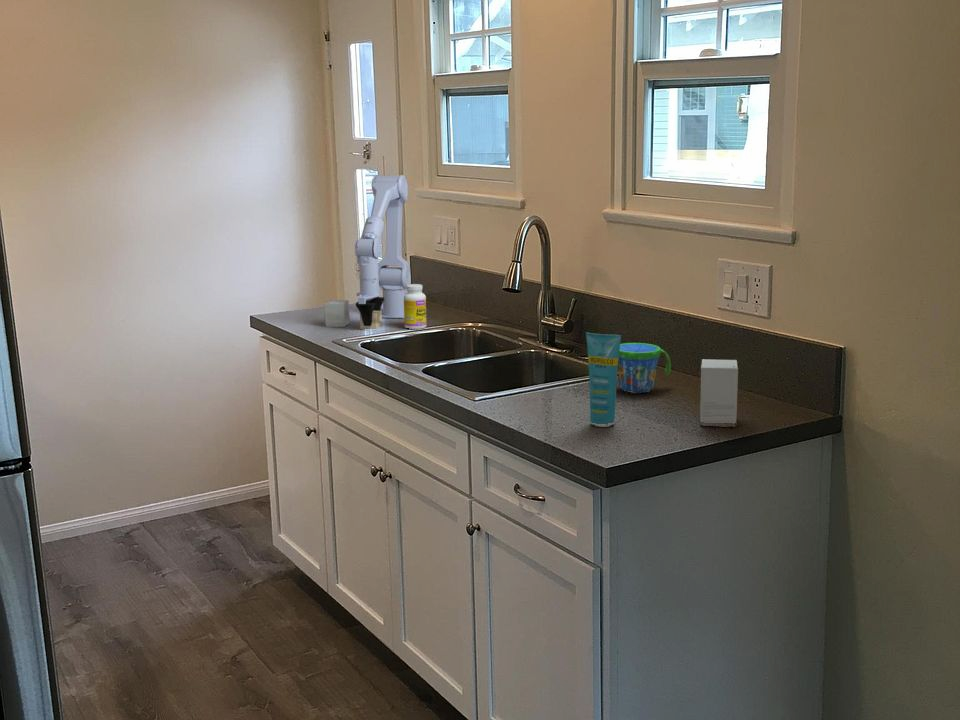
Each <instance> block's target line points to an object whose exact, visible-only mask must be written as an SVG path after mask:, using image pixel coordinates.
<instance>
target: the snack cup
mask: <svg viewBox="0 0 960 720" xmlns="http://www.w3.org/2000/svg"><path fill="white" fill-rule="evenodd" d="M661 353H663V355H664V356H665V358H666V364H665V371H664V373H665V375H666V376H669V375H670V373H671V369H672V368H671V367H672V364H671V358H670V356H669V354H668V353H667V352H666V351H665V350H664V349H662V348H661V347H660V346H658V345H656V344H651V343H645V342H625V343H620V349H619V358H618V370H617V379H618V385H619V389H620V388H621V389H623V390H626V391H633V392H643V391H648V390H651V389H652V390H653V388H654V384H655V378H656V374H657V373H656V372H657V367H658V362H659V359H660V356H661ZM652 390H651V391H652ZM643 393H644V392H643Z"/></svg>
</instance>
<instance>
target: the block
mask: <svg viewBox="0 0 960 720" xmlns="http://www.w3.org/2000/svg"><path fill="white" fill-rule="evenodd" d="M382 314H383V313H382V310H380V311H373V314H372V324H371V326H364V324H363V321H362V317H361V314H360V313H359V321H360V322H359V323H360V324H359V326H360V330H361V329H378V328H379V327H381V326H382V327H383V322H382V321H383V318H382ZM382 327H381V328H382ZM378 330H379V329H378Z"/></svg>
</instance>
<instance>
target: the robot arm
mask: <svg viewBox="0 0 960 720" xmlns="http://www.w3.org/2000/svg"><path fill="white" fill-rule="evenodd" d="M408 187H409V184H408V182H407V178H406V177H405V175H403V174H400V175H397V174H396V175H391V174H390V175H388V174H387V175H385V174H384V175H382V174H381V175H380V174H375V175H374V176H373V178H372V180H371V191H372V194H373V203H372V208H371V212H370V213H371V214H370V216H369V217H367V218H366V220H365V222H364V226H363V228H362V229H363V230H362V232H361V236H360V238H358V240H356V242H355V244H354V254H355V256H356V257H355V258H356V263H357V264H358V270H359V271H358V274H359V276H358V277H359V292H357V293H356V296H357V302H355V307H356V308H357V310H358V312H359V315H360V314H361V317H362V321H363V324H364V326H371V324H372V314H373V311H382V310H383V312H382V313H381V314H382V319H383V318H385V319H388V318H389V319H404V295H405V294H407V292H408V291H407V285H410V283H411V280H412V279H411V278H412V277H411V269H410V263H409V262H408V261H407V260H405V259H404V258H403V256H402V238H403V237H402V236H403V235H402V233H403V208H404V207H403V206H404V205H403V204H406V203H407V201H408V192H409V191H408V189H409V188H408ZM385 214H386V222H384V221H383V219H384V217H385ZM385 224H386V225H385ZM385 227H386V228H385ZM384 228H385V229H386V230H385V256H384V257H383V258H382V259H381V260H380V261H379V257H380V256H381V254H382V253H381V252H382V235H383V231H384ZM382 308H383V309H382Z"/></svg>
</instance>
